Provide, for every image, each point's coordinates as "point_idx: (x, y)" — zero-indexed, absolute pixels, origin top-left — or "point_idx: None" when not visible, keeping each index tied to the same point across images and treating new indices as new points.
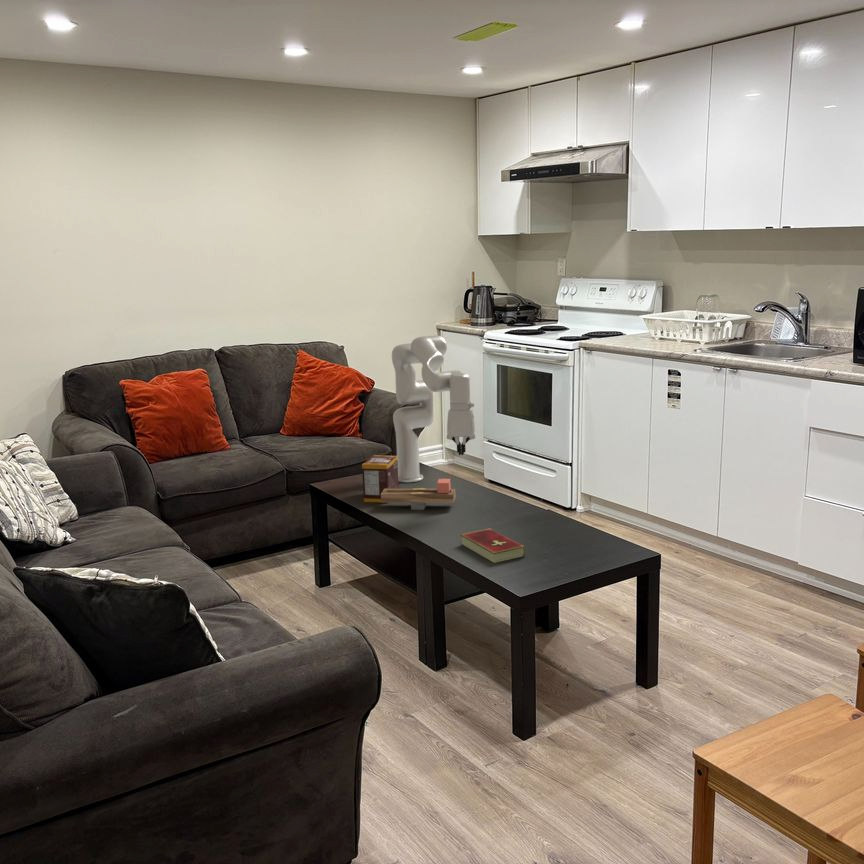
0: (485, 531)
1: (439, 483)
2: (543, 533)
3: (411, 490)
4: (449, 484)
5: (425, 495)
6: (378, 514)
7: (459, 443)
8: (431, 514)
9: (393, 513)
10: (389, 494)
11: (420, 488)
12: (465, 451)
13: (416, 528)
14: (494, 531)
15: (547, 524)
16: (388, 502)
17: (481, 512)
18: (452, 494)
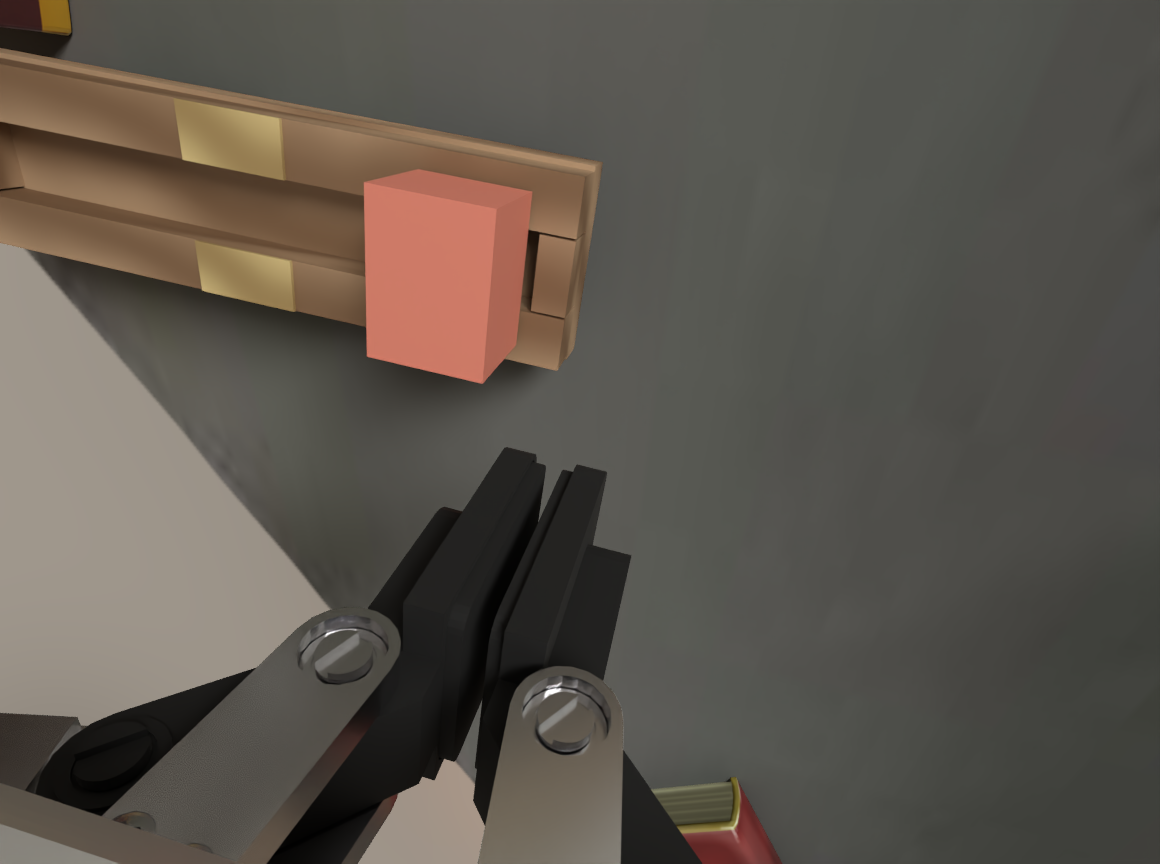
0: (701, 846)
1: (392, 358)
2: (1039, 811)
3: (172, 155)
4: (500, 301)
5: (325, 313)
6: (115, 315)
7: (412, 770)
8: (434, 382)
9: (195, 312)
10: (43, 251)
11: (236, 122)
12: (630, 558)
13: (379, 583)
14: (745, 859)
15: (1154, 720)
16: (70, 28)
17: (787, 412)
18: (548, 368)
